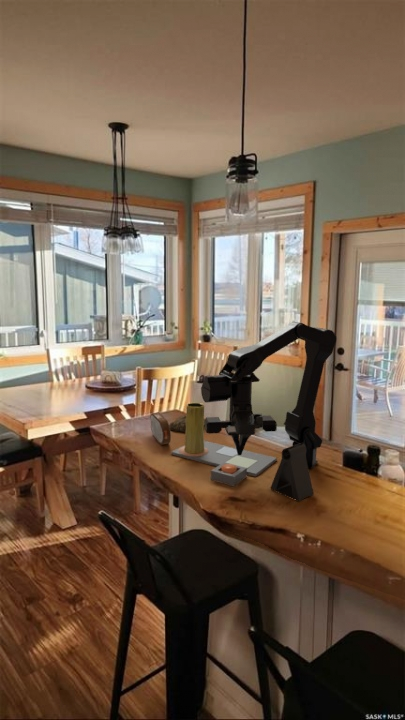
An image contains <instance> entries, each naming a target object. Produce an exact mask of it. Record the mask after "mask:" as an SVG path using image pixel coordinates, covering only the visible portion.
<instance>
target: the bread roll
mask: <svg viewBox="0 0 405 720" xmlns="http://www.w3.org/2000/svg"><path fill="white" fill-rule="evenodd" d="M169 427H170V431H174V432H179V433H180V432H182V433H186V414H182V415H181V416H178V417H177V418H176V419H174V420H173V421H172V422H170V423H169Z"/></svg>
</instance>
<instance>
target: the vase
mask: <svg viewBox="0 0 405 720" xmlns="http://www.w3.org/2000/svg"><path fill="white" fill-rule="evenodd" d="M185 412H186V414H185V416H186V432H184V434H185V435H184V445H185V449H184V450H185V452H187V453H190V454H199V453H202V452H204V441H205V435H204V434H205V428H204V420H205V404H204V403H200V402H188V403H187V404H186V411H185Z"/></svg>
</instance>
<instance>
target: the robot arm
mask: <svg viewBox="0 0 405 720" xmlns="http://www.w3.org/2000/svg"><path fill="white" fill-rule="evenodd" d="M297 340H301V341H304V350H305V355H306V362H305V366H304V369H303V374H302V379H301V384H300V387H299V391H298V396H297V401H296V405H295V407H294V409H293V410H292V411H289V410H288V411H287V412H286V413H285V414H286V417H285V421H284V423H283V425H284V430H285V432H286V433H287V435H288V437H289V440H290V441H293V442H292V444H291V446H294V445H297V444H301V445H303V444H304V445H305V447H306V460H307V465H308V469H309V470H312V469H313V468H314V467H315V466H316V465H317V464H318V463H319V462H318V460H317V451H318V450H317V448H318V449H319V448H321V446H322V444H323V439H322V438H321V437H320V436H319V435H318V434H317V433H316V425H317V424H316V423H317V422H316V419H315V414H314V409H315V405H316V401H317V397H318V392H319V389H320V384H321V379H322V376H323V372H324V371H323V370H324V365H325V362H326V361H327V360H328V359H329V357H330V356H331V355H332V354H333V352H334V348H335V347H336V344H337V335H336V334H335V332H334V331H333V330H331V329H327V328H323V327H322V328H321V327H313V326H309V325H307V324H305V323H303V322H299V321H291V322H289V323H288V324H287V325H286V326H284V327H282V328H281V329H279V330H277V331H276V332H274V333H272V334H271V335H269V336H267V337H265V338H263V339H262V340H261V341H259V342H257V343H255V344H252V345H249V346H244V347H241V348H238V349H234V350H233V351H231V352H230V353H229V354H228V355H227V360H226V363H225V364H223V367H222V368H221V369H220V371H219V373H218V375H209V374H208V375H204V380H203V381H202V384H201V387H200V394H201V397H202V400H203V401H204V403H207V404H208V403H216V402H223V401H225V402H226V401H228V400H229V415H228V417H229V420H221V419H220V417H219V416H212V417H211V416H207V417H204V431H205V433H206V434H220V433H221V432H222V431H223V430H222V429H224V430H225V433H226V434H227V436H230V437H231V438H232V440H233V443H234V446H235V447H234V448H236V450H237V454H238V455H241V454H242V452H243V450H245V446H246V444H247V442H248V441H249V440H248V439H249V438H250V437H251V436H254V435H255V434H256V429H257V430H259V429H261V428H262V430H263V431H264V432H266V433H267V432H277V429H278V428H277V426H278V424H277V421H276V420H275V419H274V418H273V416H271V415H263V414H262V413H254V412H253V404H252V391H253V385H252V384H253V383H258V382H260V379H261V378H258V377H257V376H256V374H255V373H254V372H256V371H257V370H258V369H259V368H260V367H261V366H262V364H263V363H264V361H265V360H266V359H267V358H269V357H271V356H272V355H274V354H275V353H277V352H279V351H281V350H282V349H284V348H286V347H287V346H288V345H291V344H292V343H294V342H295V341H297ZM299 446H300V445H299Z"/></svg>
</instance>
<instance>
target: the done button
mask: <svg viewBox="0 0 405 720" xmlns="http://www.w3.org/2000/svg"><path fill="white" fill-rule="evenodd" d="M236 471H237V467H236V466H235V465H231V464H226V465H223V466H222V472H226V473H230V474H234V473H235V472H236Z"/></svg>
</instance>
